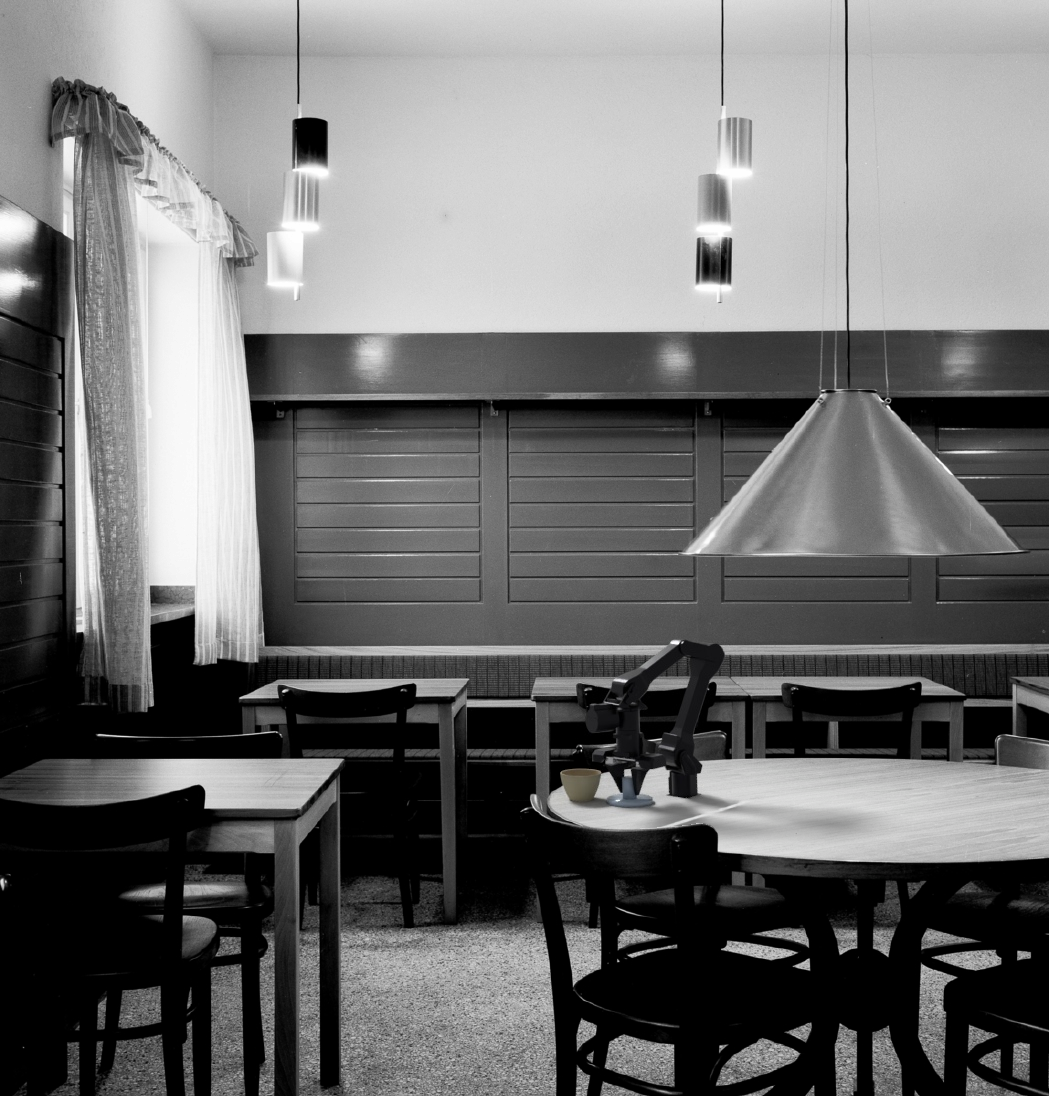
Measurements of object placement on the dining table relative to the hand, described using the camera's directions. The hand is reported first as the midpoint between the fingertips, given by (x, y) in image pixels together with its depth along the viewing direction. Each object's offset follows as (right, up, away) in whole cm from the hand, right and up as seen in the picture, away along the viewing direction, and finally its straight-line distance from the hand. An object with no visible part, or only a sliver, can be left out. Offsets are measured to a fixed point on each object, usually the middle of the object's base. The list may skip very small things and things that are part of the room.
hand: (629, 793), depth 275 cm
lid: (0, -2, 0) cm, 2 cm away
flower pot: (-11, -3, +5) cm, 13 cm away
